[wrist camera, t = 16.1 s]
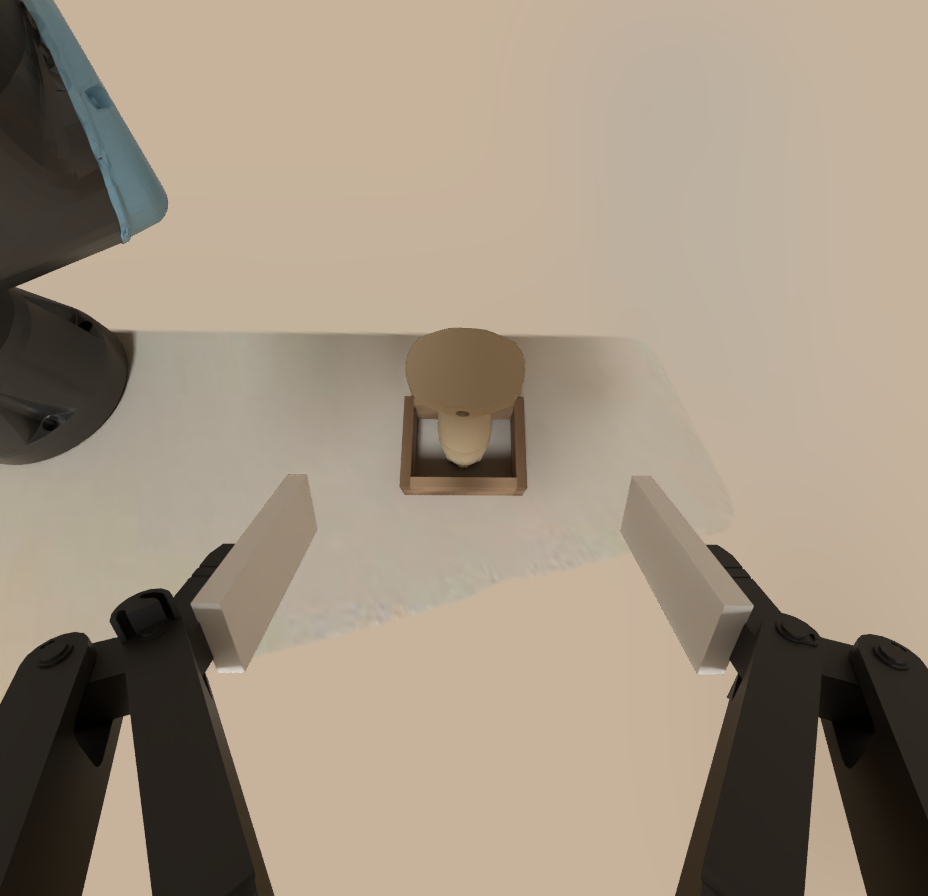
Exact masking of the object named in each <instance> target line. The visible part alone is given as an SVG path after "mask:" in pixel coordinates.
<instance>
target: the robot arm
mask: <svg viewBox="0 0 928 896" xmlns="http://www.w3.org/2000/svg"><path fill="white" fill-rule="evenodd" d="M167 209H168V200H167V195H166V192H165V190H164V188H163V186H162V185H161V183H160V181H159V180H158V178H157V176H156V174H155V173H154V171H153V169H152V168H151V166H150V164H149V162H148V161H147V159H146V158H145V156H144V154H143V152H142V150H141V149H140V147H139V146H138V144H137V142H136V140H135V139H134V137H133V135H132V134H131V132H130V130H129V128H128V127H127V125H126V123H125V122H124V120H123V118H122V117H121V115H120V113H119V112H118V110H117V108H116V106H115V105H114V103H113V101H112V100H111V98H110V96H109V94H108V93H107V91H106V89H105V87H104V86H103V84H102V82H101V81H100V79H99V77H98V76H97V74H96V72H95V70H94V69H93V67H92V65H91V63H90V62H89V60H88V58H87V57H86V55H85V53H84V51H83V50H82V48H81V46H80V45H79V43H78V41H77V39H76V38H75V36H74V34H73V33H72V31H71V29H70V28H69V26H68V24H67V22H66V21H65V19H64V17H63V16H62V14H61V12H60V10H59V9H58V7H57V5H56V4H55V2H54V0H0V464H8V465H21V464H30V463H35V462H40V461H43V460H47V459H50V458H52V457H55V456H57V455H60V454H62V453H64V452H66V451H68V450H70V449H71V448H73V447H75V446H76V445H78V444H80V443H81V442H82V441H84V440H85V439H86V438H88V437H89V436H90V435H91V434H93V433H94V432H95V431H96V430H97V429H98V428H99V427H100V426H101V425H102V424H103V423H104V421H105V420H106V419H107V418H108V416H109V415H110V414H111V412H112V411H113V409H114V408H115V406H116V404H117V403H118V401H119V399H120V396H121V394H122V392H123V389H124V385H125V381H126V375H127V362H126V356H125V352H124V350H123V347H122V345H121V343H120V342H119V340H118V339H117V337H116V336H115V335H114V334H113V333H112V332H111V331H110V330H108V329H107V328H106V327H104V326H103V325H101V324H100V323H99V322H97V321H96V320H94V319H93V318H92V317H90V316H89V315H87V314H85V313H83V312H81V311H80V310H78V309H75V308H73V307H70V306H67V305H64V304H61V303H58V302H56V301H53V300H50V299H47V298H44V297H42V296H39V295H36V294H33V293H30V292H27V291H25V290H22V289H19V288H16V286H18V285H20V284H23V283H25V282H28V281H30V280H32V279H35V278H37V277H40V276H42V275H44V274H47V273H49V272H52V271H54V270H56V269H59V268H61V267H64V266H66V265H69V264H71V263H73V262H76V261H78V260H81V259H83V258H86V257H88V256H90V255H93V254H95V253H97V252H100V251H103V250H105V249H107V248H110V247H112V246H115V245H117V244H120V243H122V244H124V243H126V242H128V241H129V240H130V237H131V236H133V235H135V234H137V233H139V232H141V231H143V230H145V229H146V228H148V227H150V226H152V225H154V224H156V223H158V222H160V221H161V219H162V218H163V217H164V216H165V213H166V212H167ZM316 531H317V524H316V519H315V514H314V509H313V504H312V498H311V493H310V488H309V483H308V478H307V475H305V474H288V475H287V476H286V478H285V479H284V480H283V482H282V483H281V484H280V486H279V487H278V488H277V490H276V491H275V492H274V494H273V495H272V496H271V497H270V499H269V500H268V501H267V503H266V504H265V505H264V507H263V508H262V509H261V511H260V512H259V513H258V515H257V516H256V517H255V519H254V520H253V521H252V523H251V524H250V525H249V527H248V528H247V529H246V531H245V532H244V533H243V535H242V536H241V537H240V539H239V540H238V541H237V543H236V544H222V545H221V546H220V547H218V548H217V549H215V550H214V551H213V552H211V553H210V554H209V555H208V556H207V557H206V558H205V560H204V561H203V562H202V563H201V564H200V567H199V568H197V569H196V571H195V572H194V573H193V574H192V577H191V578H189V579H188V580H187V582H186V583H185V584H184V585H183V587H182V588H181V589H180V590H179V591H178V593H177V594H176V595H175V596H174V598H173V596H172V594H171V593H170V592H169V591H168V590H165V589H161V588H160V589H150V590H146V591H143V592H140V593H138V594H136V595H134V596H132V597H130V598H128V599H126V600H125V601H124V602H122V603H121V604H120V605H118V606H117V608H116V609H115V610H114V611H113V613H112V614H111V618H110V623H111V625H112V627H113V629H114V630H115V632H116V634H117V636H118V637H117V638H112V639H108V640H104V641H100V642H96V643H91V641H90V639H89V638H88V637H87V636H86V635H85V634H84V633H79V632H73V633H67V634H63V635H60V636H58V637H55V638H53V639H50V640H48V641H47V642H45V643H43V644H42V645H40V646H38V647H37V648H36V649H34V650H33V651H32V652H31V653H30V654H28V655H27V656H26V658H25V659H24V660H23V662H22V663H21V664H20V666H19V668H18V670H17V672H16V674H15V676H14V678H13V680H12V682H11V684H10V686H9V688H8V690H7V692H6V694H5V696H4V698H3V700H2V702H1V704H0V896H82V892H83V888H84V884H85V880H86V875H87V870H88V867H89V862H90V858H91V854H92V849H93V845H94V840H95V836H96V832H97V827H98V823H99V819H100V815H101V810H102V806H103V802H104V797H105V793H106V789H107V784H108V780H109V776H110V771H111V767H112V763H113V758H114V754H115V750H116V746H117V741H118V737H119V733H120V728H121V724H122V719H123V716H126V715H129V714H130V716H131V724H132V732H133V740H134V748H135V757H136V765H137V772H138V781H139V789H140V797H141V805H142V814H143V822H144V830H145V838H146V847H147V855H148V863H149V871H150V880H151V888H152V896H274V893H273V890H272V887H271V883H270V880H269V877H268V874H267V870H266V867H265V864H264V861H263V858H262V854H261V851H260V848H259V844H258V841H257V838H256V834H255V831H254V828H253V824H252V821H251V818H250V815H249V812H248V808H247V805H246V802H245V799H244V795H243V792H242V789H241V785H240V782H239V779H238V776H237V772H236V769H235V766H234V763H233V759H232V756H231V753H230V750H229V746H228V743H227V740H226V737H225V733H224V730H223V727H222V724H221V720H220V717H219V714H218V711H217V708H216V704H215V701H214V698H213V694H212V691H211V688H210V685H209V681H208V678H207V676H206V674H205V672H206V670H207V668H208V667H209V665H210V663H211V662H212V660H213V661H214V663H215V666H216V668H217V671H218V672H219V673H223V672H224V673H227V672H228V673H232V672H233V673H245V671H246V669H247V667H248V665H249V663H250V661H251V659H252V657H253V655H254V653H255V651H256V649H257V647H258V645H259V643H260V642H261V640H262V638H263V636H264V634H265V632H266V630H267V628H268V626H269V624H270V622H271V620H272V618H273V616H274V614H275V612H276V610H277V608H278V606H279V604H280V602H281V600H282V598H283V596H284V594H285V592H286V590H287V588H288V586H289V585H290V583H291V581H292V579H293V577H294V575H295V573H296V571H297V569H298V567H299V565H300V563H301V561H302V559H303V557H304V555H305V553H306V551H307V549H308V547H309V545H310V543H311V541H312V539H313V537H314V535H315V533H316ZM620 531H621V533H622V535H623V537H624V539H625V541H626V542H627V544H628V546H629V548H630V550H631V552H632V554H633V556H634V557H635V559H636V561H637V563H638V565H639V567H640V568H641V570H642V572H643V574H644V576H645V578H646V580H647V582H648V583H649V585H650V587H651V589H652V591H653V593H654V595H655V597H656V598H657V600H658V602H659V604H660V606H661V608H662V610H663V611H664V613H665V615H666V617H667V619H668V621H669V623H670V625H671V626H672V628H673V630H674V632H675V634H676V636H677V637H678V639H679V641H680V643H681V645H682V647H683V649H684V651H685V653H686V654H687V656H688V658H689V660H690V662H691V664H692V665H693V667H694V669H695V671H696V673H697V674H715V675H717V674H718V675H723V674H724V672H725V670H726V668H727V666H728V663H729V661H731V663H732V664H733V666H734V667H735V669H736V671H737V672H738V675H737V677H736V679H735V681H734V683H733V685H732V687H731V690H730V692H729V694H728V696H727V698H729V703H728V707H727V710H726V714H725V717H724V721H723V724H722V728H721V732H720V735H719V739H718V743H717V746H716V750H715V753H714V757H713V761H712V764H711V768H710V772H709V775H708V779H707V782H706V786H705V789H704V793H703V797H702V800H701V804H700V808H699V811H698V815H697V818H696V822H695V826H694V829H693V833H692V837H691V840H690V844H689V847H688V851H687V855H686V858H685V862H684V866H683V869H682V873H681V876H680V880H679V883H678V887H677V891H676V894H675V896H804V890H805V878H806V865H807V852H808V840H809V827H810V814H811V802H812V789H813V777H814V765H815V751H816V739H817V726H818V717H820V718H821V722H822V726H823V729H824V733H825V737H826V741H827V745H828V748H829V752H830V756H831V760H832V763H833V767H834V771H835V775H836V779H837V782H838V786H839V790H840V794H841V798H842V802H843V806H844V809H845V813H846V817H847V821H848V824H849V828H850V832H851V836H852V840H853V844H854V847H855V851H856V855H857V859H858V863H859V866H860V870H861V874H862V878H863V881H864V885H865V889H866V893H867V896H928V668H927V667H926V666H925V664H924V663H923V662H922V661H921V659H920V658H919V657H917V656H916V655H915V654H914V653H913V652H911V651H910V650H909V649H907V648H906V647H904V646H902V645H900V644H898V643H897V642H895V641H893V640H890V639H888V638H885V637H883V636H878V635H872V634H867V635H861V636H860V637H859V638H858V639H857V641H856V642H855V644H854V645H849V644H845V643H841V642H837V641H833V640H829V639H825V638H822V637H820V636H819V634H818V633H817V632H816V631H815V630H814V629H813V628H812V627H810V626H809V625H808V624H807V623H805V622H803V621H801V620H800V619H798V618H796V617H793V616H790V615H787V614H784V613H781V612H780V611H779V610H778V608H777V607H776V606H775V605H774V604H773V602H772V601H771V600H770V599H769V598H768V597H767V595H766V594H765V593H764V592H763V591H762V589H761V588H760V587H759V586H758V585H757V584H756V582H755V581H754V580H753V579H751V578H750V575H749V574H748V573H747V572H746V571H745V570H744V569H742V566H741V565H740V564H739V562H738V561H737V560H736V559H735V558H734V557H733V555H731V554H730V553H728V552H727V551H725V550H724V549H723V548H721V547H720V546H718V545H705V543H704V542H703V541H702V540H701V538H700V537H699V536H698V535H697V533H696V532H695V531H694V530H693V528H692V527H691V526H690V525H689V523H688V522H687V521H686V519H685V518H684V517H683V516H682V514H681V513H680V512H679V511H678V509H677V508H676V507H675V506H674V504H673V503H672V502H671V501H670V499H669V498H668V497H667V495H666V494H665V493H664V492H663V490H662V489H661V488H660V487H659V485H658V484H657V483H656V482H655V480H654V479H653V478H652V477H651V476H632V479H631V483H630V488H629V493H628V497H627V502H626V507H625V511H624V516H623V520H622V525H621V530H620Z"/></svg>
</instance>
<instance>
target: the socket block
mask: <svg viewBox="0 0 928 896" xmlns="http://www.w3.org/2000/svg"><path fill="white" fill-rule="evenodd" d="M418 419H438V411H436V410H433V409H431V408H429V407H427V406H426V405H424V404H422V403H420V402H419V401H417V400H416V399H415V398H414V396H405V402H404V419H403V437H402V454H401V472H400V488H401V490H402V491H403V493H404V494H405V495H516V496H522V495H523V493H524V492H525V490H526V489H527V471H526V448H525V424H524V400H523V397H517V399H516V400H515V402H514V403H513V404H512V405H511V406H509V407H507V408H505V409H502V410H500V411H497V412H494V413H491V419H510V425H511V458H512V478H494V477H415V466H416V444H417V422H418Z"/></svg>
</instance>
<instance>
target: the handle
mask: <svg viewBox="0 0 928 896" xmlns="http://www.w3.org/2000/svg"><path fill="white" fill-rule="evenodd" d="M524 376H525V362H524V358H523V354H522V352H521V350H520V348H519V347H518V346H517V344H516V343H514V342H512V341H510V340H508V339H506V338H504V337H502V336H500V335H498V334H496V333H493V332H490V331H487V330H482V329H472V328H448V329H444V330H440V331H437V332H434V333H431V334H428V335H425V336H422V337H419V338H418V339H417V340H416V341H415V342H414V344H413V345H412V347H411V348H410V351H409V353H408V356H407V361H406V377H407V382H408V385H409V388H410V390H411V393H412V395H413V396H414V398H415V399H416V400H417V401H419V402H420V403H422V404H424V405H426V406H427V407H429V408H431V409H433V410H436V411H438V434H439V440H440V443H441V446H442V449H443V451H444V452H445V455H446V458H447V459H448V460H449V461H452V462H454V463H456V464H457V465H458V466H459V468H460V469H467V468H468V467H469V466H470V465H471V464H474V463H479V462H480V461H481V459H482V457H483V454H484V452H485V451H486V449H487V446H488V444H489V440H490V435H491V413H494V412H497V411H500V410H502V409H505V408H507V407H509V406H511V405H512V404H513V403H514V402H515V400H516V399H517V397H518V395H519V393H520V391H521V387H522V384H523V381H524Z"/></svg>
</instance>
